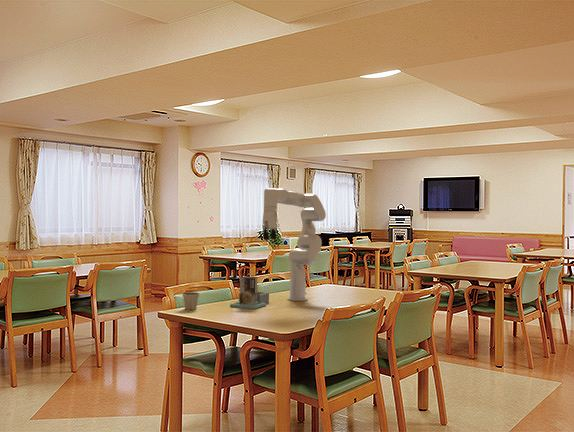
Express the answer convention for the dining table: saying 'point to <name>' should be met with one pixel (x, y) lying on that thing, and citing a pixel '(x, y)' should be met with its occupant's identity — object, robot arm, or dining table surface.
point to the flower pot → (190, 300)
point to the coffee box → (248, 291)
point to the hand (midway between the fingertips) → (269, 239)
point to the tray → (238, 305)
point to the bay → (261, 297)
